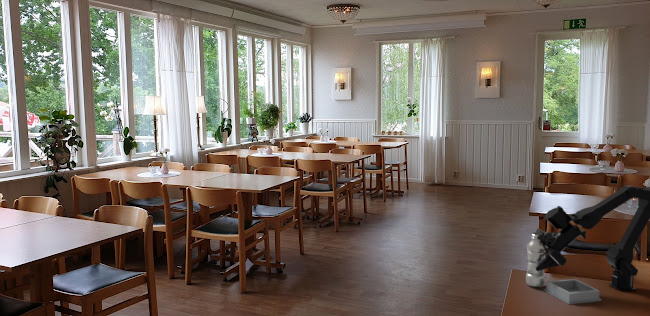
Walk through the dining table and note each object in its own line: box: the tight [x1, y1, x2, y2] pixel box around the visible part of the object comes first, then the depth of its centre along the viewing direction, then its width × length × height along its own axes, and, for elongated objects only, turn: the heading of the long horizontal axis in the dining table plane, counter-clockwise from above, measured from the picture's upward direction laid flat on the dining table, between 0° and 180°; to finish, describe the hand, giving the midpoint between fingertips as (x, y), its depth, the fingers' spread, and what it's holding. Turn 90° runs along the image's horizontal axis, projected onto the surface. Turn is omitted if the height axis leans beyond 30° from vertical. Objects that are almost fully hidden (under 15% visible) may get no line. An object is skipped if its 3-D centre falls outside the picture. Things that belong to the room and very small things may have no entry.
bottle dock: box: [543, 278, 602, 305], centre depth 177 cm, size 13×13×4 cm
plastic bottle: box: [525, 232, 546, 288], centre depth 185 cm, size 6×7×20 cm
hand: (532, 266), depth 186 cm, fingers open, 9 cm apart
